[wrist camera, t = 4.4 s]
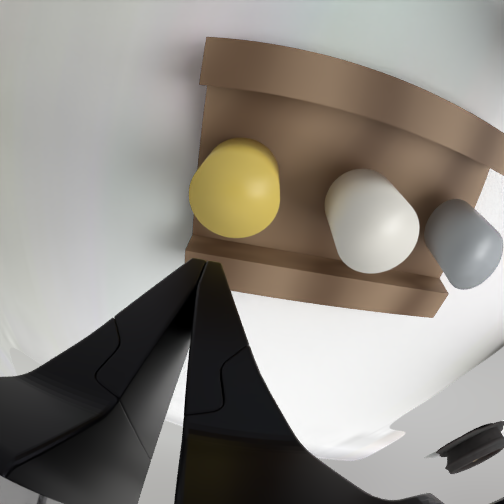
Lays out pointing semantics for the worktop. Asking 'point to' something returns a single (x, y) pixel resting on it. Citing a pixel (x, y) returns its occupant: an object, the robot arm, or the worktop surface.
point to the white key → (370, 221)
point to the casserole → (473, 447)
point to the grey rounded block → (463, 243)
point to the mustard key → (236, 189)
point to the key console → (335, 169)
